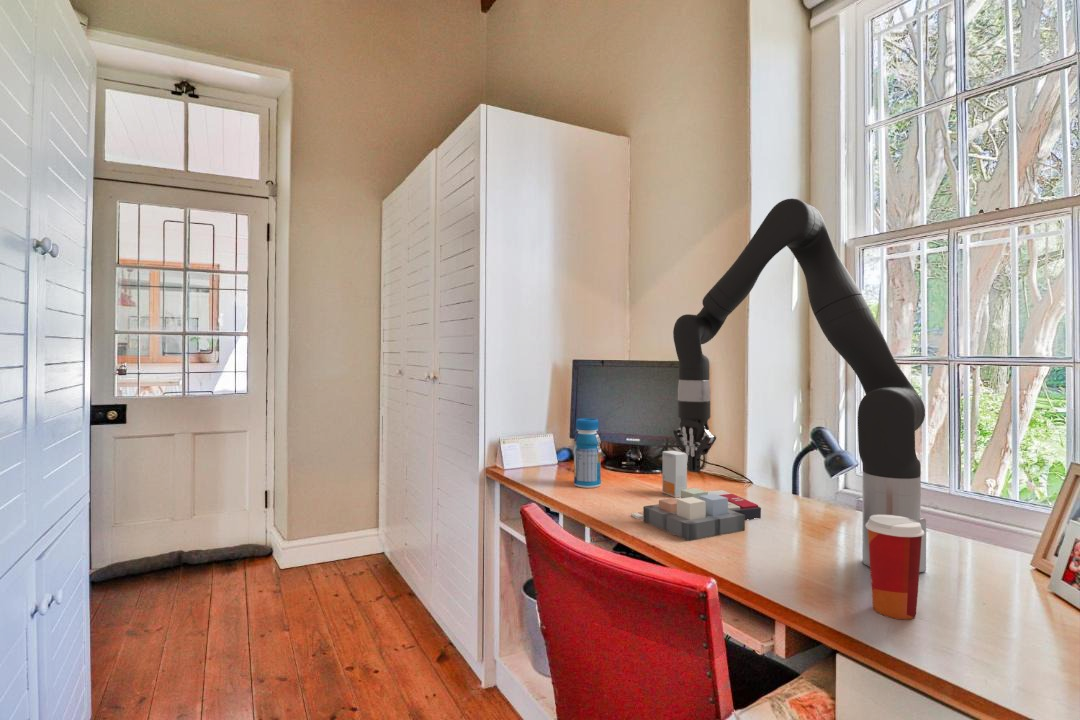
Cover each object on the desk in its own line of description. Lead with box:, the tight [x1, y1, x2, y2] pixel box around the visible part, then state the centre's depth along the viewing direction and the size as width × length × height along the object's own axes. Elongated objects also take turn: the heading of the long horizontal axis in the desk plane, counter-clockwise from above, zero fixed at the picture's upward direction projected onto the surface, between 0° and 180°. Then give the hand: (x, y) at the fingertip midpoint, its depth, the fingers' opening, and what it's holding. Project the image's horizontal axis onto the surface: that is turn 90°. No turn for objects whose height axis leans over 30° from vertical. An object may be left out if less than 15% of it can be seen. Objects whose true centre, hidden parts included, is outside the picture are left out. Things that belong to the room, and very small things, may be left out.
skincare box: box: [661, 450, 688, 499], centre depth 161 cm, size 6×4×12 cm
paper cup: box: [865, 515, 924, 621], centre depth 88 cm, size 8×8×14 cm
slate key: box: [699, 494, 728, 516], centre depth 130 cm, size 4×4×4 cm
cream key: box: [676, 497, 706, 520], centre depth 127 cm, size 4×4×4 cm
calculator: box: [707, 489, 762, 521], centre depth 143 cm, size 11×4×15 cm
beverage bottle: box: [572, 417, 602, 489], centre depth 173 cm, size 8×8×20 cm
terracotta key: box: [658, 497, 678, 513], centre depth 133 cm, size 4×4×4 cm
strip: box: [630, 511, 643, 520], centre depth 142 cm, size 3×16×1 cm, turn 116°
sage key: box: [680, 487, 708, 499], centre depth 136 cm, size 4×4×4 cm
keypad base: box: [642, 503, 746, 542], centre depth 132 cm, size 16×16×4 cm
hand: (693, 471), depth 136 cm, fingers closed
